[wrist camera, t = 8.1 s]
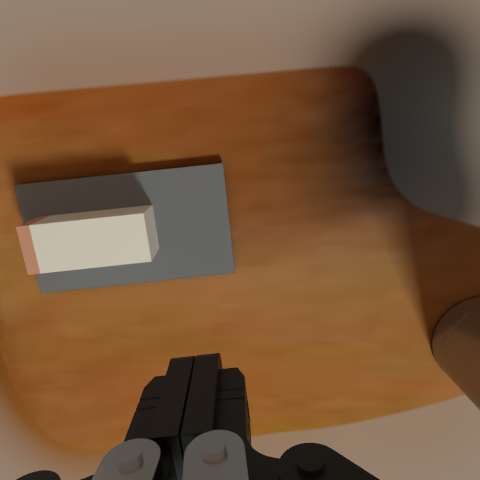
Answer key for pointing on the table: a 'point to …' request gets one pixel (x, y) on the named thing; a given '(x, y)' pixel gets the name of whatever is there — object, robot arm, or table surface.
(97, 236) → the cream block
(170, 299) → the table surface
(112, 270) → the slate mat
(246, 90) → the table surface
